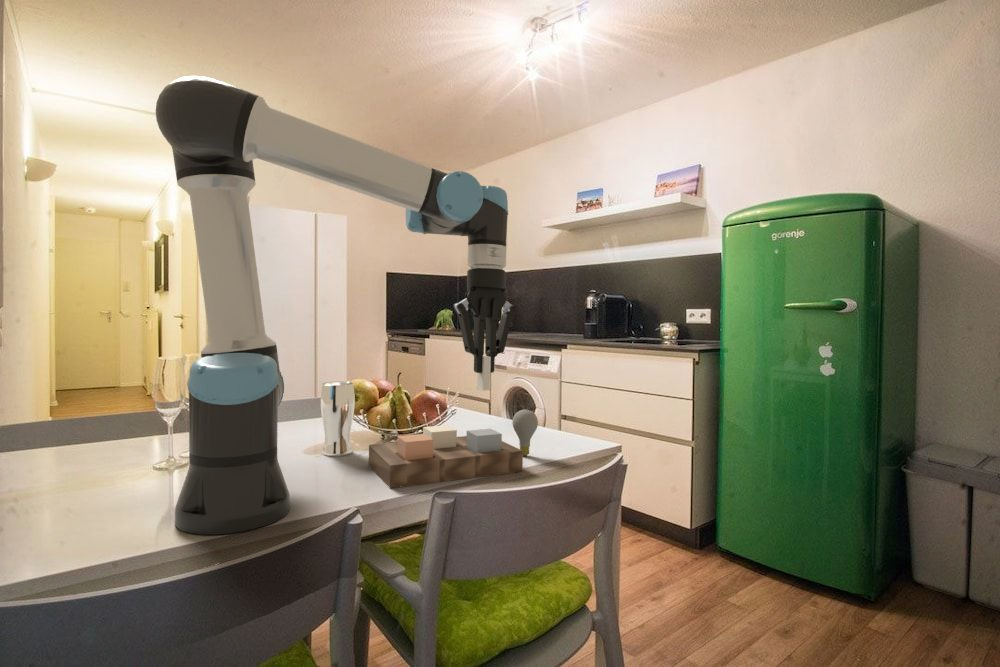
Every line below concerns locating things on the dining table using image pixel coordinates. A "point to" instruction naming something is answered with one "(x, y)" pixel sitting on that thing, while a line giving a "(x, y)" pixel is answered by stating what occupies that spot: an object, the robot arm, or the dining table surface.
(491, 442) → the key slate
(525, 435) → the light bulb
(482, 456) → the brown wooden base
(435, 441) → the key ivory
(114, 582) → the dining table surface
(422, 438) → the key terracotta
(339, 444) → the beer glass
